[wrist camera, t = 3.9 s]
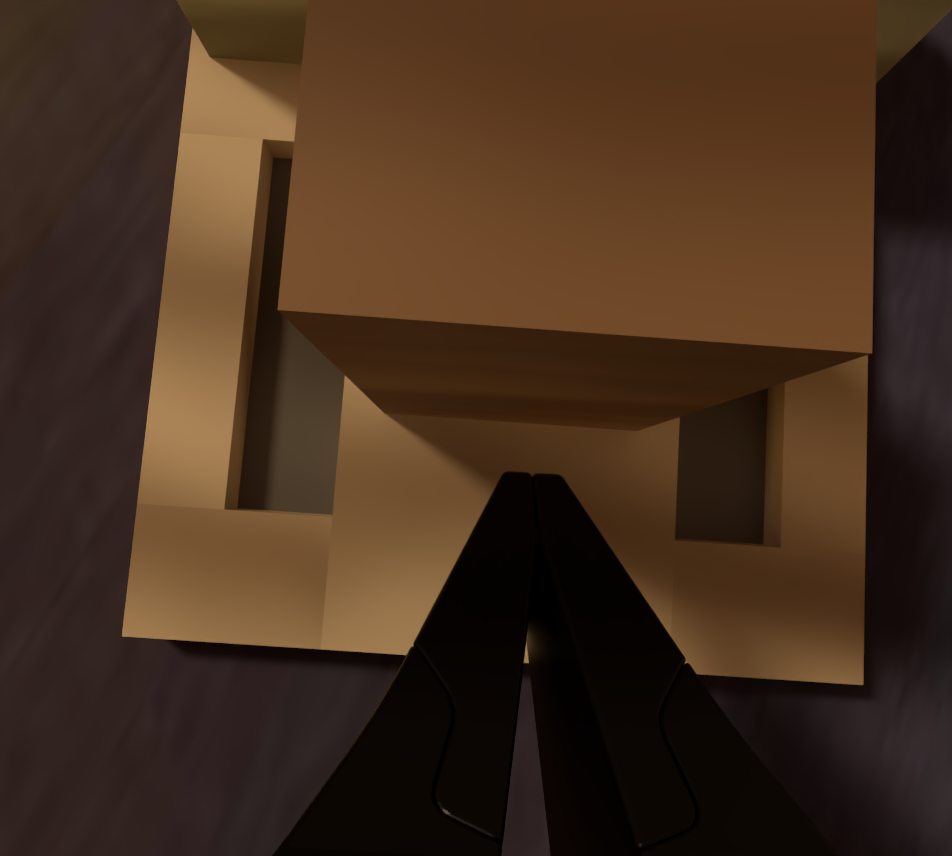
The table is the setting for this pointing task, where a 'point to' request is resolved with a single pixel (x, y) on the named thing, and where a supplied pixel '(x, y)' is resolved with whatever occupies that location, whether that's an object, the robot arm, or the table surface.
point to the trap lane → (448, 438)
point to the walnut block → (582, 202)
